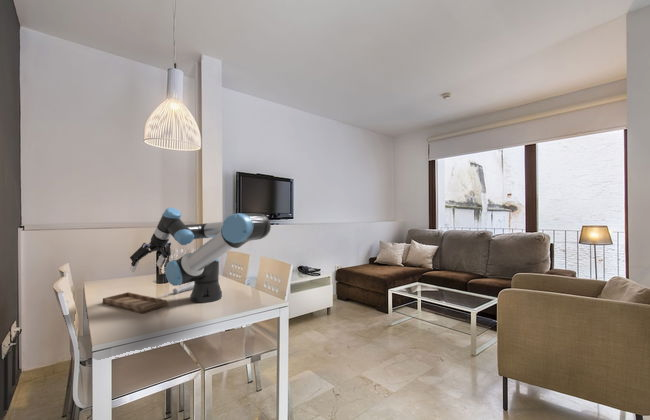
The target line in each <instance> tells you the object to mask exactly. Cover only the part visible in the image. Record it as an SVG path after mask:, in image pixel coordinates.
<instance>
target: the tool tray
mask: <svg viewBox="0 0 650 420" xmlns="http://www.w3.org/2000/svg"><path fill="white" fill-rule="evenodd" d="M102 304H103V305H105V306H106V305H107V306H112V307H114V308H118V309H122V310H126V311H130V312H134V313H138V314H146V313H149V312H152V311H154V310H158V309H161V308H165V307H167V306H168V300H167V299H162V298H158V297H153V296H147V295H144V294H138V293H133V292H130V291H129V292H128V291H127V292H124V293H119V294H115V295H111V296H108V297H103V298H102Z"/></svg>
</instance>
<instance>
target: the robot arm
mask: <svg viewBox="0 0 650 420" xmlns="http://www.w3.org/2000/svg"><path fill="white" fill-rule="evenodd" d="M181 217H182V211H180V210H179V209H177V208H175V207H168V208H166V209H165V210H164V212H163V213H162V214H161V217H160V220H159V222H158V223H157V226H156V228H155V230H154V232H153V234H152V235H151V238H150V242H149V243H146V242H143V243H142V245H141V246H140V247H138V249H137V250H136V251H135V252H134V253H132V255H131V256H130V257H129V259H130V260H131V266H130V270H131V272H132V273H134V272H135V271H136V269H137V267H138V265H139V263H140V261H141V259H143V258H144V257H146V256H147V255H148V254H151V253H153V252H158V251H160V252H161V254H160V256H159V258H158V259H157V261H156V263H155V265H156V266H157V267H158V268H161V266H162V264H163V263H164V261H166V259H168V258H169V257H170V256H171V254H172V253H171V246H172V243H171V241H170V238H171V237H173V239H174V241H176V242H177V243H178V244H179V245H180V246H186V245H188V244H191V243H192V242H193V240H199V239H209V240H208V241H207V242H205V243H204V244H203V245H201V246H200V247H198V248H196V250H194V251H193V252H188V253H185V254H183V256H181V257H179V258H177V259H172V260H170V261H168V262H167V263H166V266H165V271H164V272H165V277H166V280H167V281H168V283H169V284H170V285H171V286H175V287H176V286H183V285H186V284H188V283H190V282H194V287H193V289H192V291H191V293H190V298H189V300H190V301H191V302H193V303H210V301H211V302H214V301H218V300H221V299H222V298H221V297H223V292H222V288H221V284H220V281H219V279H220V278H219V274H220V260H219V258H221V256H224V255H225V254H226V253H228V252H229V251H230V250H232V249H239V248H241V247H242V246H243V245H246V243H248V242H251V241H256V240H261V239H264V238H266V237H267V236H268V235H269V234H270V232H271V228H272V224H271V221H270V220H269V218H268V217H267V216H266V215H265V214H262V213H258V212H257V213H242V212H238V213H237V212H236V213H233V214H230V215H228V216H227V217H226V218H224V221H217V222H208V223H207V222H206V223H191V224H185V223H184V221H182V220H181ZM164 247H165V249H164Z"/></svg>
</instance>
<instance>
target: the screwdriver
mask: <svg viewBox="0 0 650 420" xmlns="http://www.w3.org/2000/svg"><path fill="white" fill-rule="evenodd" d="M193 287H194V281H193V282H189V283H186V284H183V285H181V286H179V287H177V288H173V290H172V292H168V293H165V294H163V295H159V296H158V297H157V298H158V299H161V298H162V297H165V296H168V295H171V294H173V295H177V294H179V293H183V292H187V291H191V290H193Z"/></svg>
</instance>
